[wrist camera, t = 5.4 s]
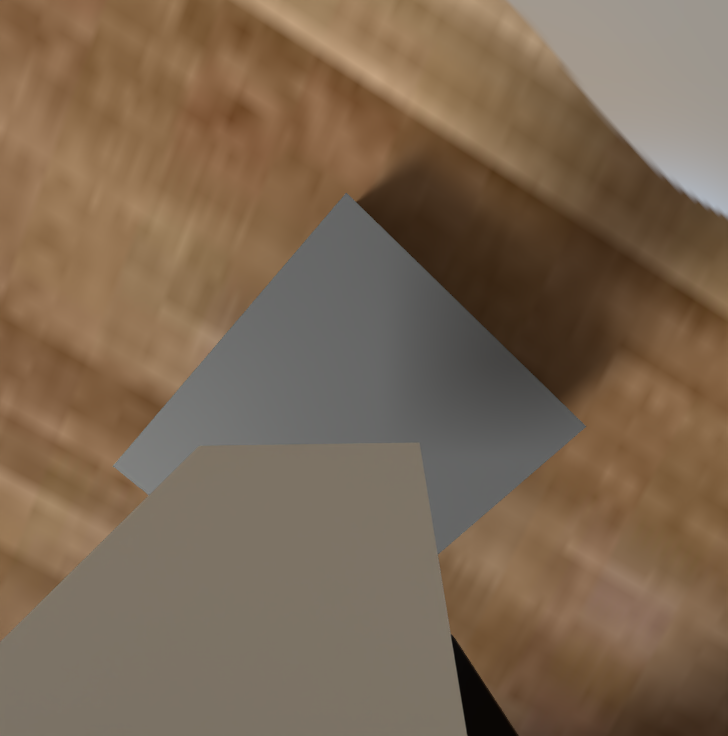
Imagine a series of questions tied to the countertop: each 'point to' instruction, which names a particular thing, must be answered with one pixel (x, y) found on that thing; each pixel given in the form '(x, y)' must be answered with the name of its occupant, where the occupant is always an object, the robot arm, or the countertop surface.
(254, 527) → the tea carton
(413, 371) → the podium
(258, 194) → the countertop surface
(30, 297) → the countertop surface
